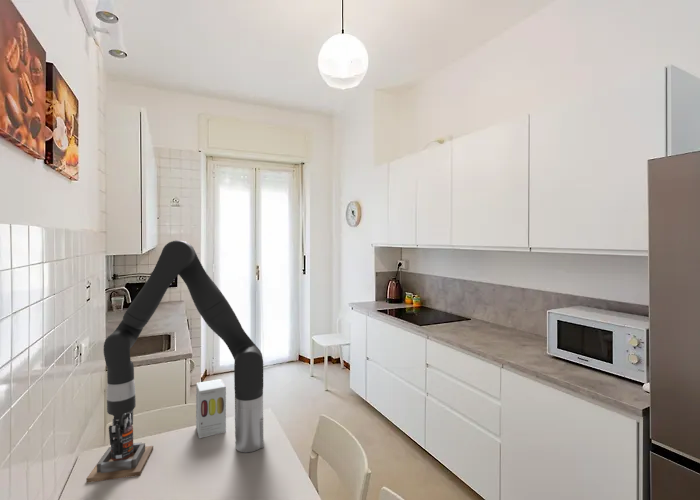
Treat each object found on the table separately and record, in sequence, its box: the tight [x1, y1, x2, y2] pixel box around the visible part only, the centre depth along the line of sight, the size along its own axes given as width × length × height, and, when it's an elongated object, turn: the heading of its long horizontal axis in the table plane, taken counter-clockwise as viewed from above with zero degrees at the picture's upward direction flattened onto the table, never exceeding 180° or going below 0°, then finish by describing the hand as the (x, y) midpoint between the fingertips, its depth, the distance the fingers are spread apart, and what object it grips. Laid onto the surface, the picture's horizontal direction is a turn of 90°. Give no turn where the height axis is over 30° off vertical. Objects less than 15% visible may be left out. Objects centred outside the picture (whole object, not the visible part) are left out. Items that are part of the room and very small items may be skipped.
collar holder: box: [86, 442, 154, 484], centre depth 115 cm, size 14×14×4 cm
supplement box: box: [195, 378, 227, 439], centre depth 136 cm, size 10×9×17 cm
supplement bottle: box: [110, 419, 134, 461], centre depth 115 cm, size 6×6×11 cm
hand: (122, 448), depth 115 cm, fingers closed on supplement bottle, 6 cm apart
